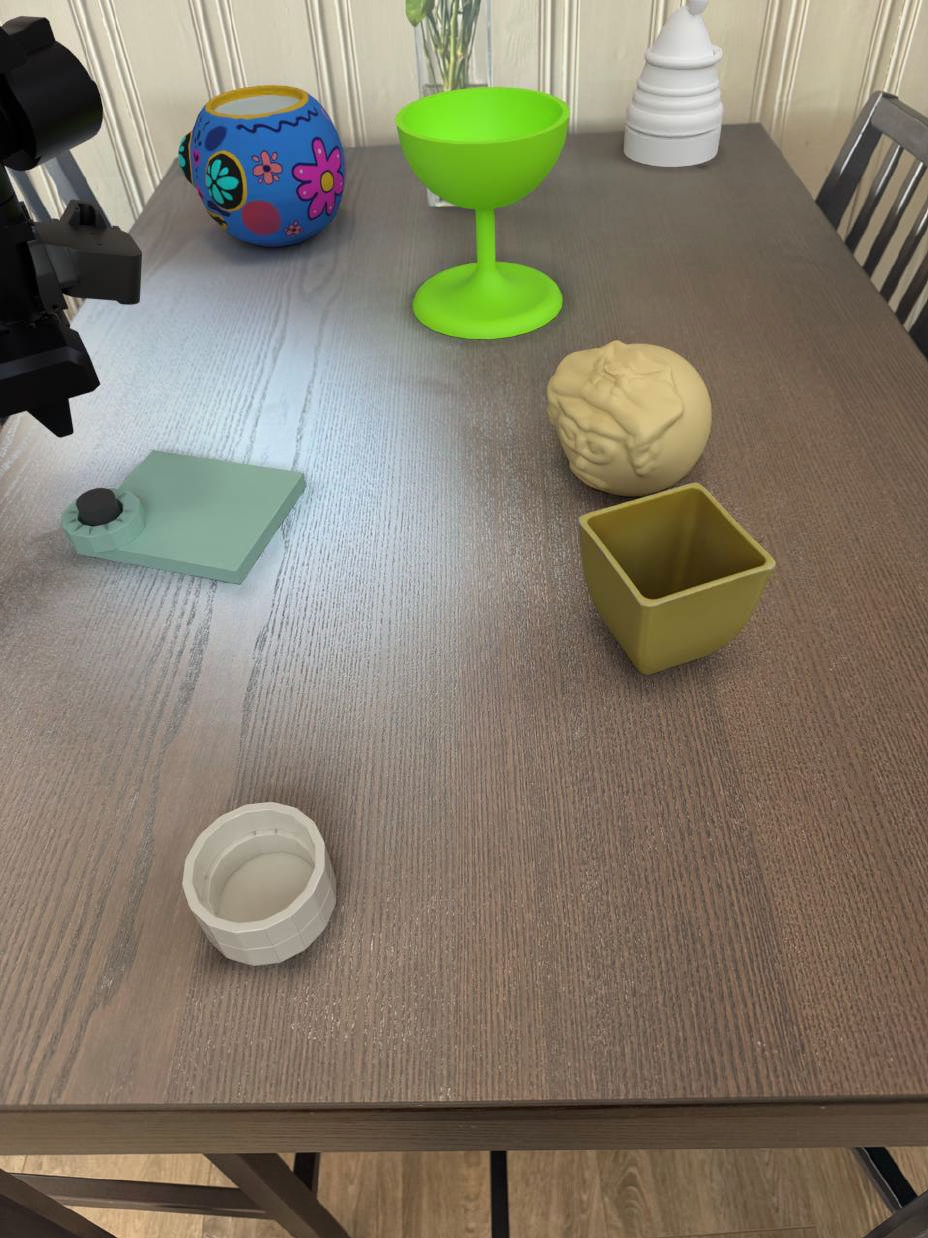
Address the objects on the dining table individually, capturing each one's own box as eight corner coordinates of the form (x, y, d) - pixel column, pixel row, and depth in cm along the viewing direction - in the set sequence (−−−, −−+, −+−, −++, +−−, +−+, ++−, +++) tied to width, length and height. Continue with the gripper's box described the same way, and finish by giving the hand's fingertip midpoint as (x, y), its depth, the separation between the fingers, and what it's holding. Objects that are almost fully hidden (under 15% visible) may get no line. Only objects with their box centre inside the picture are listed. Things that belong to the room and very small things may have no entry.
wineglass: (393, 332, 89) (372, 140, 76) (434, 263, 99) (421, 84, 86) (548, 345, 86) (554, 147, 73) (573, 272, 96) (582, 88, 83)
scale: (61, 559, 67) (45, 529, 64) (148, 461, 75) (137, 432, 73) (235, 592, 63) (225, 562, 61) (306, 486, 72) (299, 456, 69)
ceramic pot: (188, 233, 108) (151, 98, 97) (315, 197, 115) (294, 66, 104) (244, 283, 98) (210, 138, 87) (381, 241, 104) (365, 100, 93)
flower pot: (569, 614, 60) (575, 514, 54) (680, 580, 62) (699, 478, 56) (629, 708, 54) (644, 607, 48) (750, 666, 56) (780, 564, 50)
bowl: (182, 949, 45) (156, 910, 42) (243, 832, 50) (223, 789, 46) (306, 986, 43) (289, 949, 40) (357, 862, 48) (345, 819, 45)
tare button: (75, 524, 65) (68, 507, 64) (96, 501, 67) (89, 485, 66) (107, 529, 65) (100, 513, 64) (128, 506, 67) (121, 490, 65)
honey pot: (737, 152, 119) (764, -7, 106) (663, 174, 115) (681, 10, 102) (676, 128, 127) (694, -24, 114) (604, 147, 123) (614, -8, 110)
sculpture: (524, 470, 72) (525, 351, 64) (624, 413, 77) (636, 296, 69) (627, 537, 65) (642, 414, 58) (729, 470, 70) (755, 349, 63)
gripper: (143, 223, 46) (217, 465, 57) (74, 127, 58) (146, 344, 69) (-82, 276, 43) (43, 522, 54) (-108, 163, 54) (0, 385, 65)
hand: (65, 433), depth 61 cm, fingers closed
